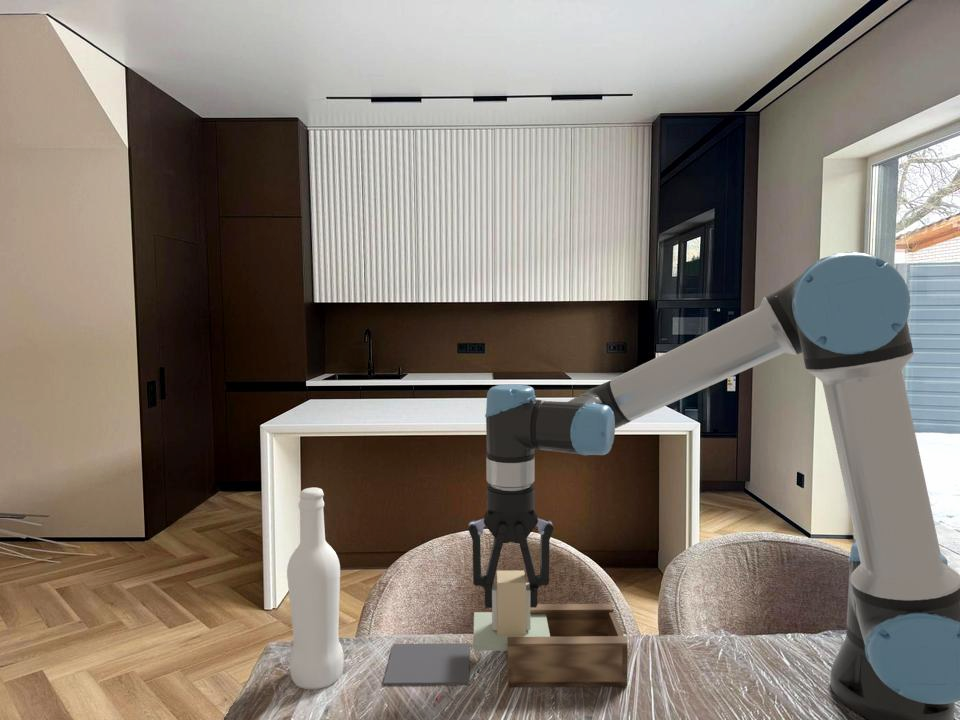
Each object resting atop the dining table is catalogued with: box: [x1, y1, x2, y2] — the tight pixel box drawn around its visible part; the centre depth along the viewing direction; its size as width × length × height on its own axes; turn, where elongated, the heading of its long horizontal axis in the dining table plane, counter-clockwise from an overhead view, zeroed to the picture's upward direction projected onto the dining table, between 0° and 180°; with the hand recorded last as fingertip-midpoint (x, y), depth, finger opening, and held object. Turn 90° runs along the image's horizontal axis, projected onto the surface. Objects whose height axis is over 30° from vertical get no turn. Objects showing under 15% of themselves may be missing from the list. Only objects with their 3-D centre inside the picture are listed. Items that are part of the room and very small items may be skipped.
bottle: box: [286, 487, 345, 690], centre depth 98 cm, size 8×8×30 cm
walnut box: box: [505, 603, 629, 688], centre depth 102 cm, size 18×12×7 cm
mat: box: [383, 642, 471, 686], centre depth 102 cm, size 13×11×1 cm
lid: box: [472, 570, 550, 652], centre depth 102 cm, size 12×10×10 cm
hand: (511, 625), depth 102 cm, fingers open, 5 cm apart
